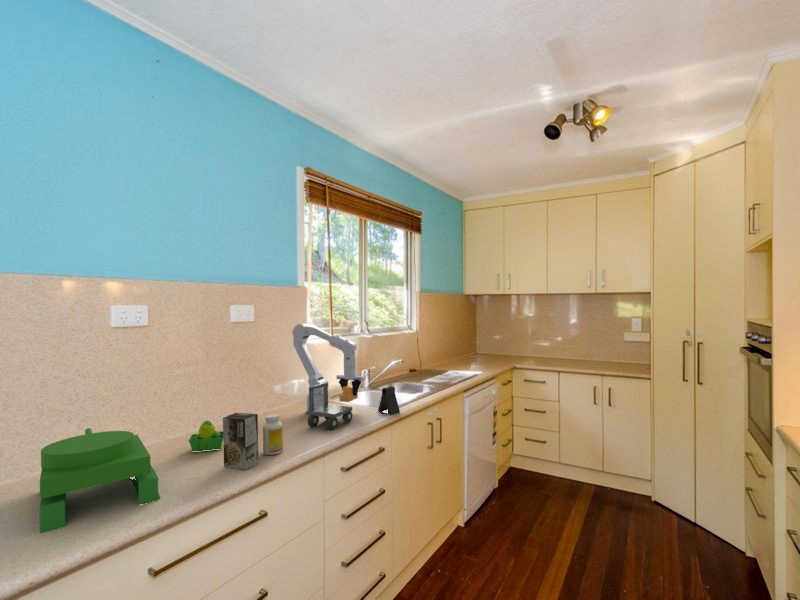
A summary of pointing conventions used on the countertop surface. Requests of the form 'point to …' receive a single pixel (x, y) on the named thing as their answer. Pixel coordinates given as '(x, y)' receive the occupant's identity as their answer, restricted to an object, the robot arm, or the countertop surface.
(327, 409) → the trolley
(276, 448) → the supplement bottle
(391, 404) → the black triangular stand
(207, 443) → the fruit basket
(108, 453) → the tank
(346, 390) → the wheel chock
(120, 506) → the countertop surface
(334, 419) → the trolley wheels
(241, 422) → the coffee box
